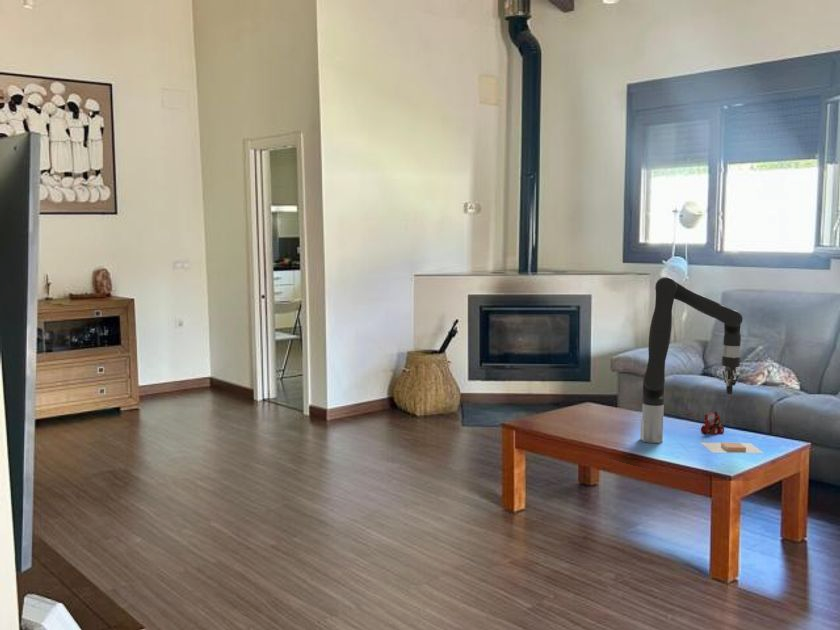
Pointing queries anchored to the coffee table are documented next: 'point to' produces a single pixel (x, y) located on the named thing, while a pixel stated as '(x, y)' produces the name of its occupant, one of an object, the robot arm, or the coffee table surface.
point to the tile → (733, 446)
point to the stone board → (718, 449)
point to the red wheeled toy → (712, 424)
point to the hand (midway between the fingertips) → (729, 394)
